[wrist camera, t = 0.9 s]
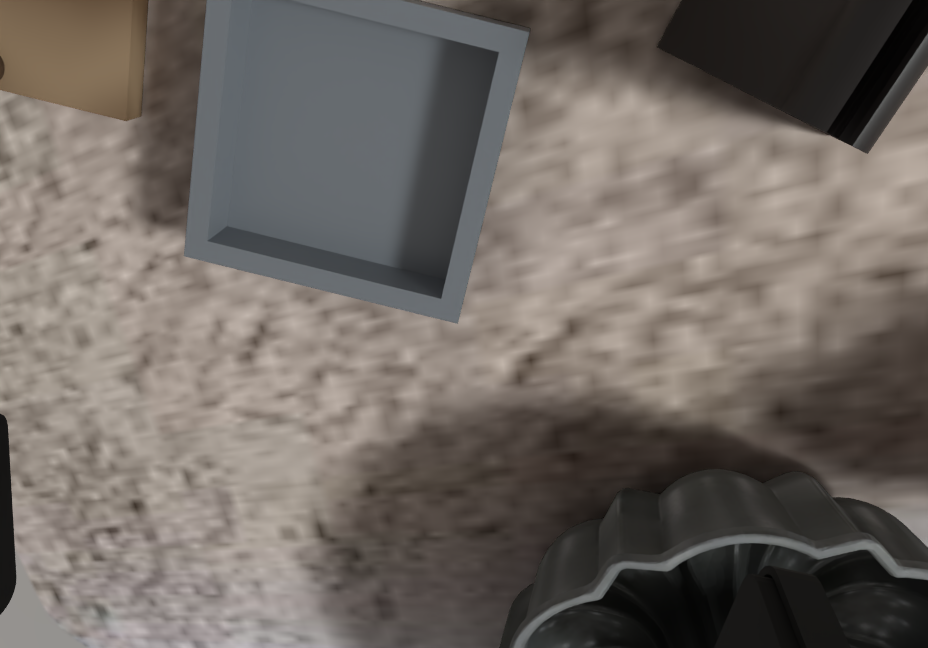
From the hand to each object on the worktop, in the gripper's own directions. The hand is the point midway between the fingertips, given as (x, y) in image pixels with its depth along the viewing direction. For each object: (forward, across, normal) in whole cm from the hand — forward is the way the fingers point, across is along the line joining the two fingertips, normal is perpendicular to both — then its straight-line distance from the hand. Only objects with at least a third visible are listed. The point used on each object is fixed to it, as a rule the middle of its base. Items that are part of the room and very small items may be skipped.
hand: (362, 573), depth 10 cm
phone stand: (+30, -11, -7) cm, 33 cm away
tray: (+29, +6, +1) cm, 30 cm away
